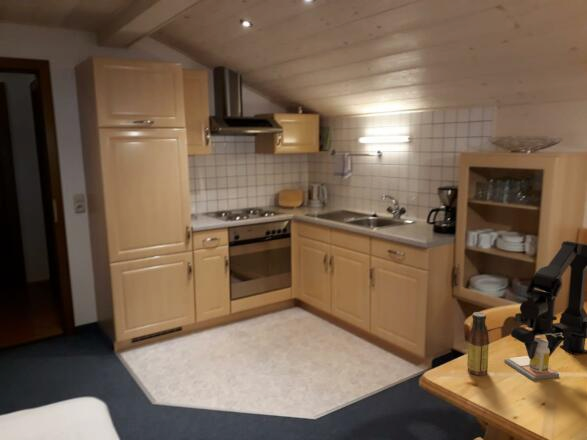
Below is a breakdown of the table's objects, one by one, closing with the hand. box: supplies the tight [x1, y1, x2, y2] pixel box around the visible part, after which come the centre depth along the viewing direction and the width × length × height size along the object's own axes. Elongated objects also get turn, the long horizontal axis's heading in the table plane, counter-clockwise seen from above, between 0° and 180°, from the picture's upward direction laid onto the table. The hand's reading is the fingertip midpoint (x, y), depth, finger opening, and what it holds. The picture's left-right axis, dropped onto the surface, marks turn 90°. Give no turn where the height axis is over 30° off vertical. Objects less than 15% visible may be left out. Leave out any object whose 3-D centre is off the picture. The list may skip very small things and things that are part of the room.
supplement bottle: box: [529, 337, 550, 373], centre depth 150 cm, size 5×5×10 cm
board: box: [503, 355, 560, 382], centre depth 154 cm, size 10×13×1 cm
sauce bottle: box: [466, 311, 490, 377], centre depth 151 cm, size 7×6×20 cm
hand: (539, 357), depth 151 cm, fingers open, 6 cm apart
